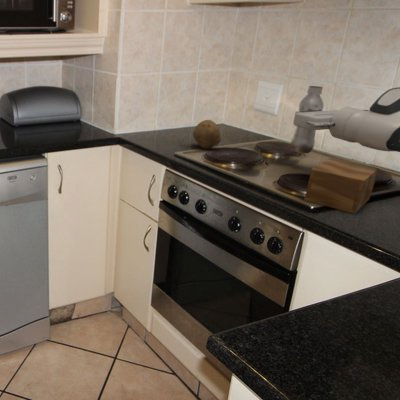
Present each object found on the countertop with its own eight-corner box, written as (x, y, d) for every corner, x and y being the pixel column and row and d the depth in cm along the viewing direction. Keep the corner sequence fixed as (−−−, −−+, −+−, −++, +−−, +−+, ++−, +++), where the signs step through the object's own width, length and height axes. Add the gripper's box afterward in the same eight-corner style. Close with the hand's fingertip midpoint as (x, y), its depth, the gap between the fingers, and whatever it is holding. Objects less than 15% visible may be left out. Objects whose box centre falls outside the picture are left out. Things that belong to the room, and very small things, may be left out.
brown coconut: (187, 144, 171) (190, 117, 167) (210, 144, 171) (215, 116, 168) (197, 152, 162) (201, 123, 158) (222, 151, 163) (227, 122, 159)
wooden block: (321, 187, 132) (329, 157, 129) (369, 199, 125) (378, 168, 122) (303, 200, 124) (311, 168, 120) (354, 213, 116) (364, 180, 113)
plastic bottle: (316, 153, 146) (332, 87, 139) (304, 157, 143) (321, 89, 135) (296, 148, 151) (310, 84, 144) (284, 151, 148) (298, 86, 140)
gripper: (314, 137, 129) (276, 125, 141) (371, 132, 135) (330, 121, 147) (320, 114, 127) (281, 104, 139) (377, 110, 133) (335, 101, 145)
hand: (306, 113), depth 143 cm, fingers closed on plastic bottle, 6 cm apart
